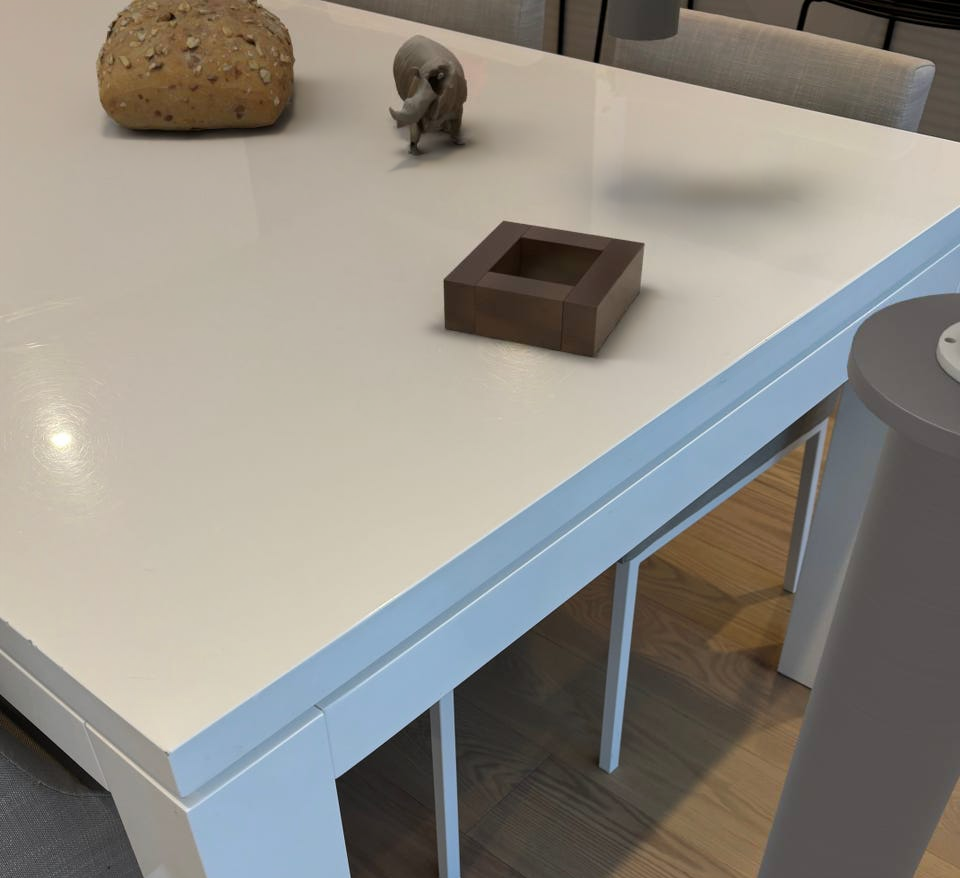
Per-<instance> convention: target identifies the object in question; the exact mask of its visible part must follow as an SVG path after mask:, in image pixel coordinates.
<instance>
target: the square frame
mask: <svg viewBox="0 0 960 878" xmlns="http://www.w3.org/2000/svg"><path fill="white" fill-rule="evenodd" d="M644 254H645V242H639V241H635V240H628V239H623V238H622V239H621V238H616V237H615V238H614V237H610V236H603V235H596V234H590V233H584V232H578V231H572V230H567V229H566V230H565V229H560V228H553V227H547V226H540V225H534V224H527V223H520V222H514V221H509V220H502V221H501V222H500V223H499V224H498V225H497V226H496V227H495V228H494V229H493V230H492V231H491V232H490V233H489V234H487V236H486V237H485V238H484V239H483V240H482V241H481V242H479V244H478V245H477V246H476V247H475V248H474V249H472V251H470V252H469V254H467V255H466V257H465V258H463V259H462V260H461V262H460V263H458V264H457V265H456V266H455V267H454V268H453V269H452V270H451V271H450V272H449V273H448V275H446V276H445V277H444V278H443V279H442V280H443V281H442V283H443V312H444V313H443V316H444V329H446V330H453V331H455V332H457V331H458V332H462V333H467V334H472V335H477V336H481V337H488V338H493V339H498V340H502V341H507V342H508V341H509V342H514V343H519V344H523V345H529V346H535V347H540V348H544V349H549V350H555V351H560V352H566V353H570V354H576V355H580V356H586V357H593V358H594V357H595V356H596V354H597V352H598V351H599V350H600V348H601V347H602V345H603V344H604V342H605V341H606V340H607V338H608V337H609V335H610V334H611V333H612V331H613V330H614V328H615V327H616V326H617V324H618V323H619V321H620V320H621V318H622V317H623V316H624V314H625V313H626V312H627V310H628V308H629V306H630V305H631V304H632V302H633V301H634V300H635V298H636V297H637V295H638V294H639V292H640V291H641V284H642V272H643V265H644Z"/></svg>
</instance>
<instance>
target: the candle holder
mask: <svg viewBox="0 0 960 878" xmlns="http://www.w3.org/2000/svg"><path fill="white" fill-rule="evenodd" d="M681 3H682V0H608V4H607V5H608V6H607V22H606V24H607V25H606V32H607V33H606V34H608V35H609V36H611V37H613V38H616V39H621V40H626V41H634V42H635V41H637V42H653V41H660V40H666V39H670V38H673V37H675V36H676V35H678V33H679V25H680V23H679V21H680V13H681Z"/></svg>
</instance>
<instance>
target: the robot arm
mask: <svg viewBox="0 0 960 878" xmlns="http://www.w3.org/2000/svg"><path fill="white" fill-rule="evenodd" d="M936 355H937V359H938V361H939V363H940V365H941V367H942V368H943V369H944V370H945V371H946V372H947V374H948V375H950V376H951V377H952V378H954V379H955V380H956V381H957V382H959V383H960V322H958V323H956V324H954V325H952V326H950V327H949V328H947V329H946V330H945V331H944V332H943V333H942V335H941V337H940V339H939V342H938V346H937V349H936Z"/></svg>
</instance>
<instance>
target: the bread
mask: <svg viewBox="0 0 960 878" xmlns="http://www.w3.org/2000/svg"><path fill="white" fill-rule="evenodd" d="M116 15H117V17H116V18H115V19H113V20H112V21H111V22H110V23H109V25H107V28H108V29H109V30H108V31H107V33H106V38H105V42H104V43H102V44H101V47H100V49H99V52H98V54H97V55H98V56H97V58H96V62H95V69H96V77H97V87H98V95H99V101H100V104H101V106H102V108H103V110H104V111H105V113H106V114H107V116H108V117H110V118H111V120H113V122H115V123H117V124H118V125H120V126H122V127H124V128H127V129H131V130H139V131H141V130H145V131H146V130H163V131H188V132H189V131H190V132H191V131H195V132H197V131H201V130H218V129H236V128H237V129H238V128H239V129H255V128H260V127H267V126H272V125H274V123H276V121H277V119H278V118H279V117H280V116H281V114H282V112H283V111H284V109H285V108H286V107H287V106H288V105H289V104H291V103H292V101H291V100H290V99H291V98H292V93H293V88H294V83H295V81H294V79H295V78H294V77H295V73H294V65H295V62H296V58H295V56H294V47H293V42H292V38H291V35H290V32H289V29H288V28H286V25H285V24H284V23H283V22H282V21H281V19H280V17H278V16H277V15H276V14H275V13H273V12H271V11H269V10H268V9H267V8H266V7H264V6H263V5H262V4H261V3H258V0H132V1H130V3H129V4H128V5H126V6H125V7H124V8H123V10H121V11H119V12H116Z"/></svg>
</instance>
